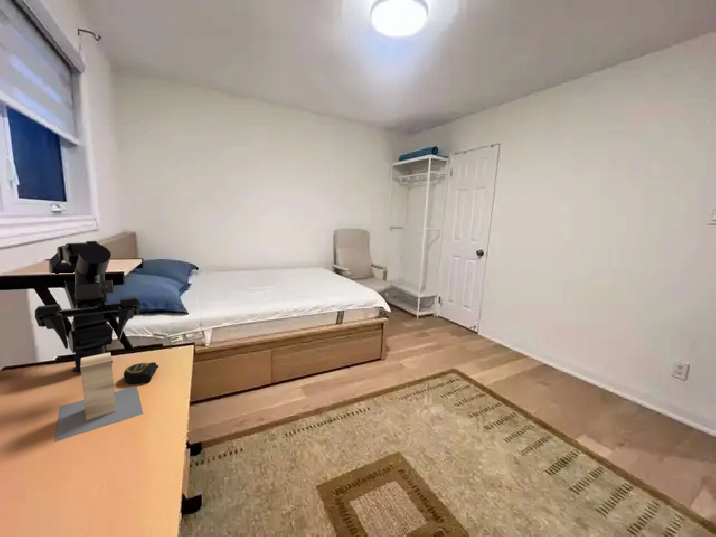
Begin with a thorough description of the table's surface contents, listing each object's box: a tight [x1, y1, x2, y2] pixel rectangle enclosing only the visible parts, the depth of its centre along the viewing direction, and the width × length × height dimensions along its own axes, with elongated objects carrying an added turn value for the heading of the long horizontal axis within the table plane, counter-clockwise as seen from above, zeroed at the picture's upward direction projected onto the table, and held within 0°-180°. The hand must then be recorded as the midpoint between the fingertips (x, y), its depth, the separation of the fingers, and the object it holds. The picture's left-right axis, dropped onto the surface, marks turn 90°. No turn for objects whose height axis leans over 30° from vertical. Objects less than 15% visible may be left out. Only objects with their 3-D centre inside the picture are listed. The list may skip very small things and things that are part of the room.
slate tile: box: [54, 385, 144, 442], centre depth 69 cm, size 14×14×1 cm
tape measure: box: [123, 361, 159, 385], centre depth 82 cm, size 7×7×4 cm
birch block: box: [80, 352, 116, 420], centre depth 68 cm, size 5×5×12 cm
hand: (93, 344), depth 71 cm, fingers open, 9 cm apart
